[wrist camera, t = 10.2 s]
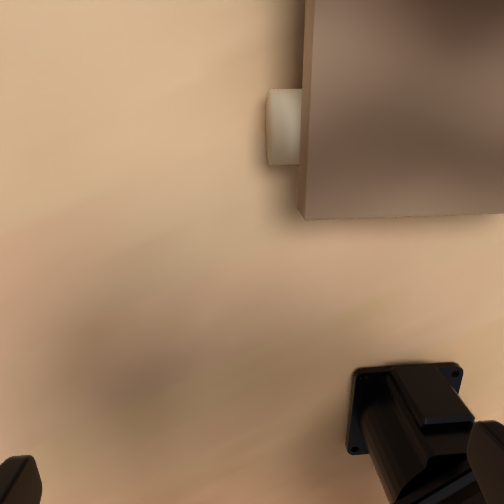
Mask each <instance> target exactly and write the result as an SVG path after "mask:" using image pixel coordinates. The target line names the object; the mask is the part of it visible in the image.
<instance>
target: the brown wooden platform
mask: <svg viewBox="0 0 504 504" xmlns="http://www.w3.org/2000/svg"><path fill="white" fill-rule="evenodd" d="M265 135H266V151H267V159H268V163H269V165H299V183H298V210H299V211H300V213H301V215H302V216H303V218H304V219H305V220H323V219H352V218H381V217H410V216H439V215H469V214H498V213H504V0H306V1H305V27H304V53H303V79H302V89H269V91H268V94H267V101H266V117H265Z"/></svg>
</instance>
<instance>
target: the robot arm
mask: <svg viewBox="0 0 504 504" xmlns="http://www.w3.org/2000/svg"><path fill="white" fill-rule="evenodd" d="M453 371H454V372H453ZM452 372H453V373H452ZM363 376H365V377H364V378H362V379H360V378H361V377H363ZM462 377H463V369H462V368H461V367H460V366H459V364H457V363H441V364H425V365H409V366H393V367H377V368H362V369H359V370H357V371H356V372H355V373H354V375H353V383H352V392H351V401H350V410H349V418H348V427H347V436H346V449H347V451H348V453H349V454H351V455H360V454H370V456H371V459H372V461H373V464H374V466H375V469H376V471H377V473H378V476H379V478H380V481H381V483H382V486H383V488H384V491H385V493H386V496H387V498H388V500H389V503H390V504H504V425H502V424H501V423H499V422H497V421H494V420H488V421H478V422H475V421H474V420H475V417H474V415H473V414H472V413H471V411H470V410H469V409H468V407H467V406H466V405H465V403H464V402H463V401H462V399H461V398H460V397H459V395H458V393H459V389H460V385H461V381H462ZM354 446H355V447H354ZM41 496H42V482H41V478H40V475H39V472H38V468H37V465H36V462H35V459H34V457H33V456H31V455H22V456H12V457H9V458H8V459H6V460H5V461H4V462H3V463H2V464H1V465H0V504H40V500H41Z"/></svg>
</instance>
